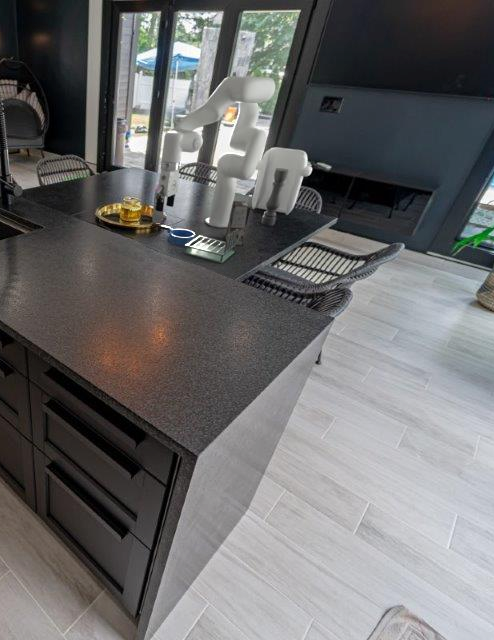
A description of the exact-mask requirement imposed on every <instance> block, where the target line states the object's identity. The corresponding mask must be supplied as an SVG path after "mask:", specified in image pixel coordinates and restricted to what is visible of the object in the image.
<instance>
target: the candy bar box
mask: <svg viewBox="0 0 494 640" xmlns="http://www.w3.org/2000/svg"><path fill="white" fill-rule="evenodd" d="M155 186H156V187H155V189H154V196H153V197H154V198H153V209H152V219H151V224H152V223H154V222H155V223H160V225H163V222H162V221H164V212H165V206H166V197H165V198H164V201H163V202H164V206H163V211H162V212H160V211H156V202H157V201H156V192H157V190H158V184H156V185H155ZM161 198H162V196H161Z"/></svg>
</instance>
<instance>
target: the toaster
mask: <svg viewBox="0 0 494 640" xmlns="http://www.w3.org/2000/svg"><path fill="white" fill-rule="evenodd" d="M308 160H309V159H308V154H307V152H306V151H304V150H301V149H294V148H293V149H292V148H285V147H276V146H275V147H271V148H270V149H268V150H266V152H265V153H264V154H263V156H262V158H261V159H260V160H259V163H258V165H257V167H256V170H255V171H258V172H257V177H256V180H255V185H254V189H253V193H252V197H251V209H252V210H255V209H259V210H260V209H261V210H266V211H267V207H266V202H267V200H268V199H269V197H270V195H271V193H272V189H273V184H272V183H273V182H275V180H274V174H275V170H276V168H283V169H288V170H289V172H288V175H287V178H286V180H285V181H284V182H283V183H284V186H283V187H282V189H281V193H280V206H279V207H278V208H277V209H276V211H275V212H276V213H283V214H285V216H288V215H289V214H290V213H291V212H292V211H293V209H294V207H295V205H296V202H297V199H298V196H299V193H300V189H301V187H302V186H301V185H302V182H303V180H304V177H308V176H310V175H311V174H312V172H313V167H312V166H310V165H308Z"/></svg>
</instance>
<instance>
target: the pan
mask: <svg viewBox="0 0 494 640" xmlns="http://www.w3.org/2000/svg"><path fill="white" fill-rule="evenodd" d="M150 227H153V228H156V229H159V230H160V229H161V230H164V231H166V233H167V234H168V242H170V243H171V244H172V245H176V246H182V247H183V246H184V247H185V245H186V244H188V243H189V242H191V241H192V240H194V239H195V238H196V234H195V233H196V232H194V231H192V230H190V229H185V228H174V229H173V228H172V227H171V226H167V225H164V224H162V225H160V224H156V223H152V222H151V225H150ZM194 243H195V242H193V243H192V244H190V245H189V246H192V245H194Z"/></svg>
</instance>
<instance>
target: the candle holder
mask: <svg viewBox="0 0 494 640" xmlns="http://www.w3.org/2000/svg"><path fill="white" fill-rule="evenodd" d="M288 172H289V170H288V169H283V168H276V170H275V174H274V180H275V182H273V183H272V184H273V189H272V193H271V195H270V197H269V199H268V200H267V202H266V207H267V210H266V211H264V212H263V215H262V217H261V222H260V224H262V226H263V225H264V226H268V227H270V226H272V227H273V226H275V224H276V220H277V217H276V216H277V211H276V209H277V208H278V207H279V206H280V193H281V189H282V187H283V186H284V183H283V182H284V181H285V180H286V178H287V175H288Z"/></svg>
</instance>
